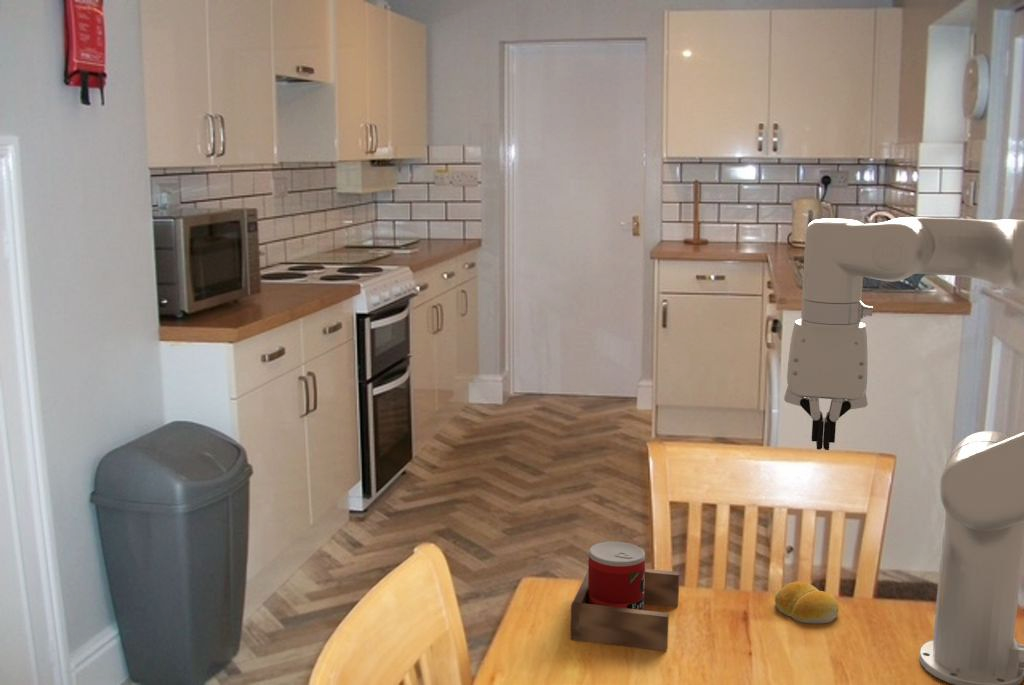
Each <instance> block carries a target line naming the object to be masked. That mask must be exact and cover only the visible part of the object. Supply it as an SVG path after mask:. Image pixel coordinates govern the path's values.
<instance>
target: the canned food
mask: <svg viewBox="0 0 1024 685" xmlns="http://www.w3.org/2000/svg"><path fill="white" fill-rule="evenodd" d="M588 550H589V552H588V566H587V567H588V568H587V572H588V604H593V605H602V606H611V607H619V608H628V609H637V610H644V609H645V603H644V585H645V569H646V553H645V550H644V549H643V548H642V547H641V546H640V547H639V546H638V545H636V544H633V543H628V542H625V541H624V542H623V541H603V542H599V543H596V544H594V545H592V546H591V547H590V548H589V549H588Z"/></svg>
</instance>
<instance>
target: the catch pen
mask: <svg viewBox="0 0 1024 685" xmlns="http://www.w3.org/2000/svg"><path fill="white" fill-rule="evenodd" d="M679 593H680V572H679V571H671V570H661V569H652V568H645V585H644V605H647V604H648V605H654V606H655V605H656V606H663V607H670V608H679V607H678V606H679V596H680V594H679ZM669 614H670V613H669V612H662V611H653V610H637V609H628V608H619V607H611V606H602V605H593V604H588V571H587V572H586V574H585V576H584V578H583V580H582V582H581V585H580V587H578V590H577V593H576V595H575V597H574V599H573V601H572V603H571V606H570V640H572V641H576V642H577V641H578V642H579V641H580V642H585V643H586V642H587V643H594V644H603V645H611V646H619V647H620V646H621V647H626V648H627V647H629V648H635V649H643V650H653V651H659V652H668V647H669V646H668V644H669V643H668V642H669Z"/></svg>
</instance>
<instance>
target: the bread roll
mask: <svg viewBox="0 0 1024 685" xmlns="http://www.w3.org/2000/svg"><path fill="white" fill-rule="evenodd" d="M774 603H775V606H776V608H777V609H778V611H780V613H782V614H783V615H785V616H788V617H791V619H793V620H795V621H797V622H799V623H803V624H809V625H810V624H813V625H814V624H827V623H831V622H832V621H834V620H835V619H836V618H837V616H838V612H839V603H838V601H837V599H836V598H835V596H834V595H832V594H831V593H829V592H827V591H824V590H823V591H822V590H819V589H818V588H817V587H815V586H814V585H812V584H810V583H808V582H806V581H799V580H797V581H793V582H790V583H787V584H786V585H784V586H783V587H782V588H780V589H779V590H778V591H777V592H775V597H774Z"/></svg>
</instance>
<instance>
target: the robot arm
mask: <svg viewBox="0 0 1024 685" xmlns="http://www.w3.org/2000/svg"><path fill="white" fill-rule="evenodd" d="M803 258H804V259H803V274H802V276H803V280H802V293H801V294H802V296H801V297H802V298H801V313H800V319H797V320H794V325H793V328H792V333H791V337H790V345H789V353H788V363H787V364H788V365H787V375H786V377H787V387H786V390H785V394H784V396H783V398H784V399H783V400H784V402H785V403H787V404H788V403H789V404H791V405H794V406H799V407H801V408H802V409H803V410H804V411H805V412H806V413H807V414H808V416H810V418H811V419H812V422H811V423H812V425H811V426H812V427H811V442H816V450H822V449H823V450H824V451H829V450H830V443H831V444H834V443H835V442H836V429H837V428H836V426H837V422H838V420H839V419H840V418H841V417H843V415H845V414H846V413H847V412H848V411H850V410H856V409H863V408H867V406H868V405H869V404H868V399H867V387H868V336H867V329H866V328H867V327H866V324H865V323H864V322H861V321H862V319H864V318H867V317H873V311H874V310H873V308H874V307H873V305H871V306H870V305H866V304H864V303H863V302H862V298H863V297H862V296H863V282H864V281H863V280H864V278H867V279H873V280H878V281H883V282H900V281H903V280H905V279H908V278H910V277H911V276H913V275H915V274H916V275H917V274H920V275H936V276H938V275H939V276H940V275H941V276H953V277H962V278H963V277H965V278H969V279H970V278H971V279H978V280H981V281H985V282H988V283H991V284H993V285H996V286H997V287H999V288H1003V289H1006V290H1013V291H1017V292H1019V291H1020V292H1024V219H995V220H993V219H971V218H969V219H968V218H950V217H949V218H948V217H947V218H946V217H945V218H943V217H922V216H921V217H917V216H916V217H915V216H910V217H909V216H908V217H907V216H906V217H897V218H893V219H890V220H888V221H887V220H886V221H883V222H877V223H865V224H864V223H862V222H861V221H859V220H854V219H847V218H820V219H818V218H817V219H814V220H812V221H811V222H809V223H808V225H807V227H806V230H805V241H804V257H803ZM820 399H825V400H827V399H829V400H831V401H830V405H829V409H828V411H827V412H826V417H825V416H823V412H822V411H821V408H820ZM939 480H940V481H939V485H938V486H939V488H938V489H939V492H938V493H939V497H940V498H939V499H940V502H941V504H942V506H943V508H944V514H943V515H944V516H943V525H942V526H943V527H942V535H941V545H940V547H941V548H940V555H939V556H940V557H939V558H940V559H939V567H938V568H939V569H938V581H937V590H936V592H937V593H936V605H935V613H934V614H935V615H934V616H935V617H934V629H933V639H931V640H930V641H927V642H925V643H924V644H923V645H921V647H920V649H919V655H918V658H919V662H920V664H921V666H922V667H923V668H924V669H925V671H927V672H928V673H929V674H931V675H932V676H934V677H936V678H938V680H941V681H943V682H945V683H948V684H951V685H1020V684H1021V683H1023V681H1024V643H1019V641H1017V640H1016V638H1015V632H1016V622H1017V612H1018V604H1019V593H1020V581H1021V573H1022V572H1021V571H1022V563H1023V556H1024V431H1023V432H1021V433H1018V434H1016V435H1014V436H1009V435H1008V434H1005V433H1003V432H999V431H996V430H995V431H993V430H983V431H982V430H981V431H978V432H974V433H972V434H970V435H968V436H966V437H965V438H963V439H962V440H960V442H958V444H956V446H955V447H954V449H953V450H952V452H951V453H950V454H949V457H948V459H947V461H946V464H945V467H944V469H943V471H942V474H941V476H940V479H939Z"/></svg>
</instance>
